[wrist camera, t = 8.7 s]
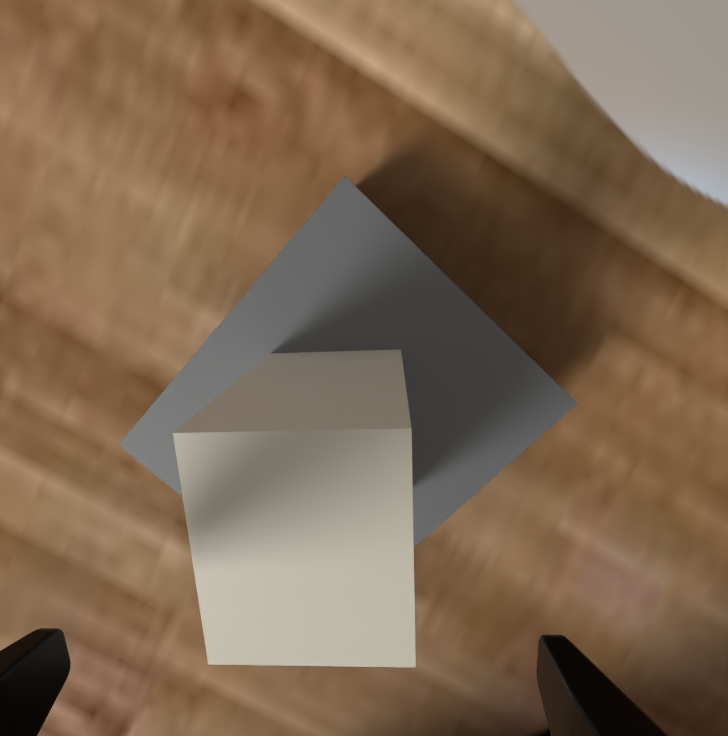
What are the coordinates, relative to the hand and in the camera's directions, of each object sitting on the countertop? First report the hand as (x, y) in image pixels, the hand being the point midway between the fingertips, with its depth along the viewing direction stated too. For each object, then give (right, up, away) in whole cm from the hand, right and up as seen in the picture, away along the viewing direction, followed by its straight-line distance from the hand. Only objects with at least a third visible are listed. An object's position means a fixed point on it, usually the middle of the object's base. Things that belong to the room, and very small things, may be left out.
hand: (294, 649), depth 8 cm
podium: (0, +4, +12) cm, 13 cm away
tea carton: (0, +3, +9) cm, 10 cm away
